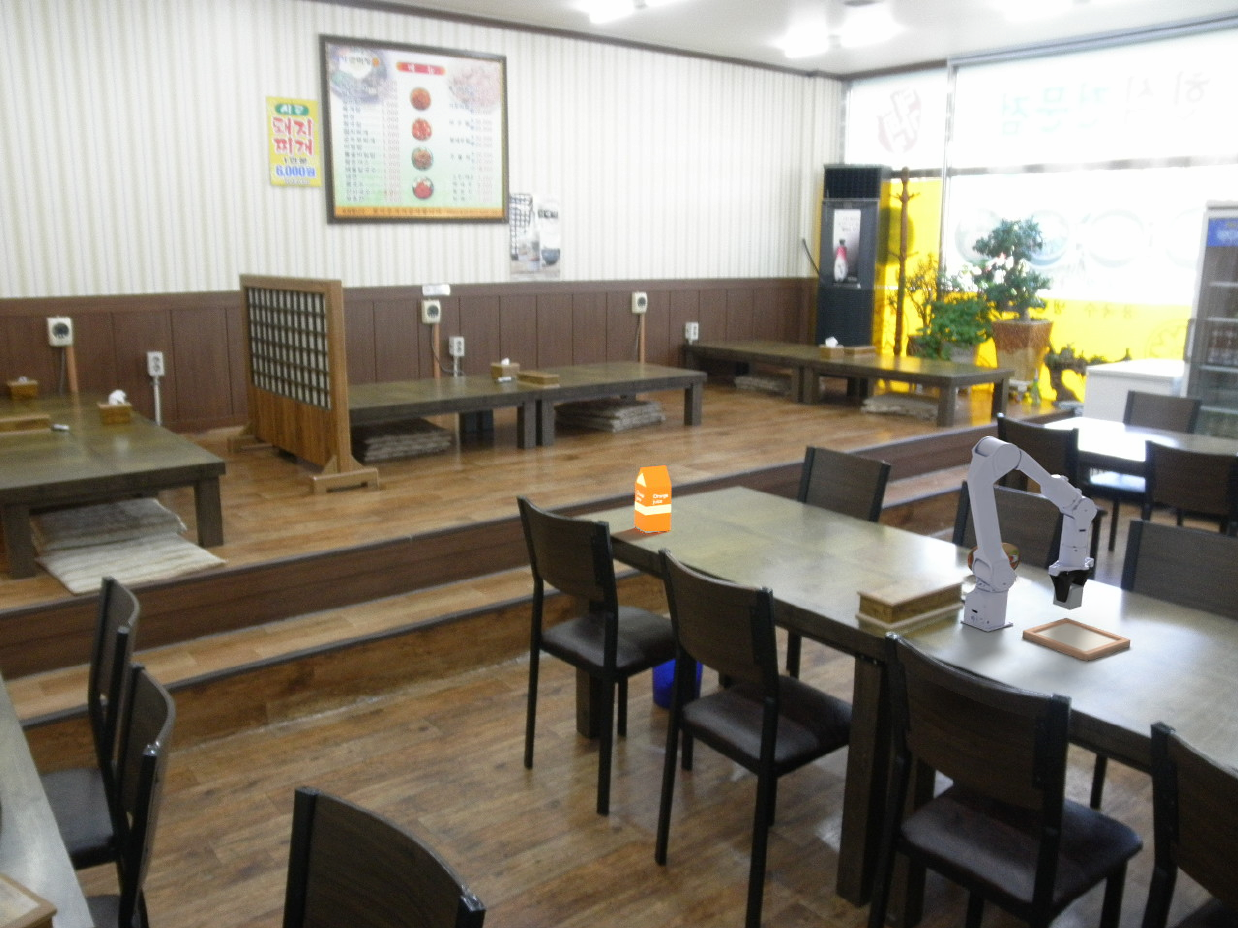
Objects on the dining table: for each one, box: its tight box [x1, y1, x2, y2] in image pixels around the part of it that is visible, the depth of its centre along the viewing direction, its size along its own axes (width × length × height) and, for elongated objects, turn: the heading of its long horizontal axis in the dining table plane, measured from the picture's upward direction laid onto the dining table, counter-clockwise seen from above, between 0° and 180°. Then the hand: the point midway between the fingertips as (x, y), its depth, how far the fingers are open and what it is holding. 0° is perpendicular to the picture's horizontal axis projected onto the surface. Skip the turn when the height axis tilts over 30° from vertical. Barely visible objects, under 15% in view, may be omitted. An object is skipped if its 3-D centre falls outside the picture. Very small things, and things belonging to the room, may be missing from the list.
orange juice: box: [634, 465, 672, 532], centre depth 317 cm, size 8×9×20 cm
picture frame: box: [1022, 617, 1131, 662], centre depth 232 cm, size 16×16×2 cm
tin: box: [967, 542, 1021, 572], centre depth 279 cm, size 15×3×8 cm, turn 105°
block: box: [1052, 583, 1085, 611], centre depth 245 cm, size 4×4×5 cm
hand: (1067, 599), depth 245 cm, fingers closed on block, 4 cm apart
